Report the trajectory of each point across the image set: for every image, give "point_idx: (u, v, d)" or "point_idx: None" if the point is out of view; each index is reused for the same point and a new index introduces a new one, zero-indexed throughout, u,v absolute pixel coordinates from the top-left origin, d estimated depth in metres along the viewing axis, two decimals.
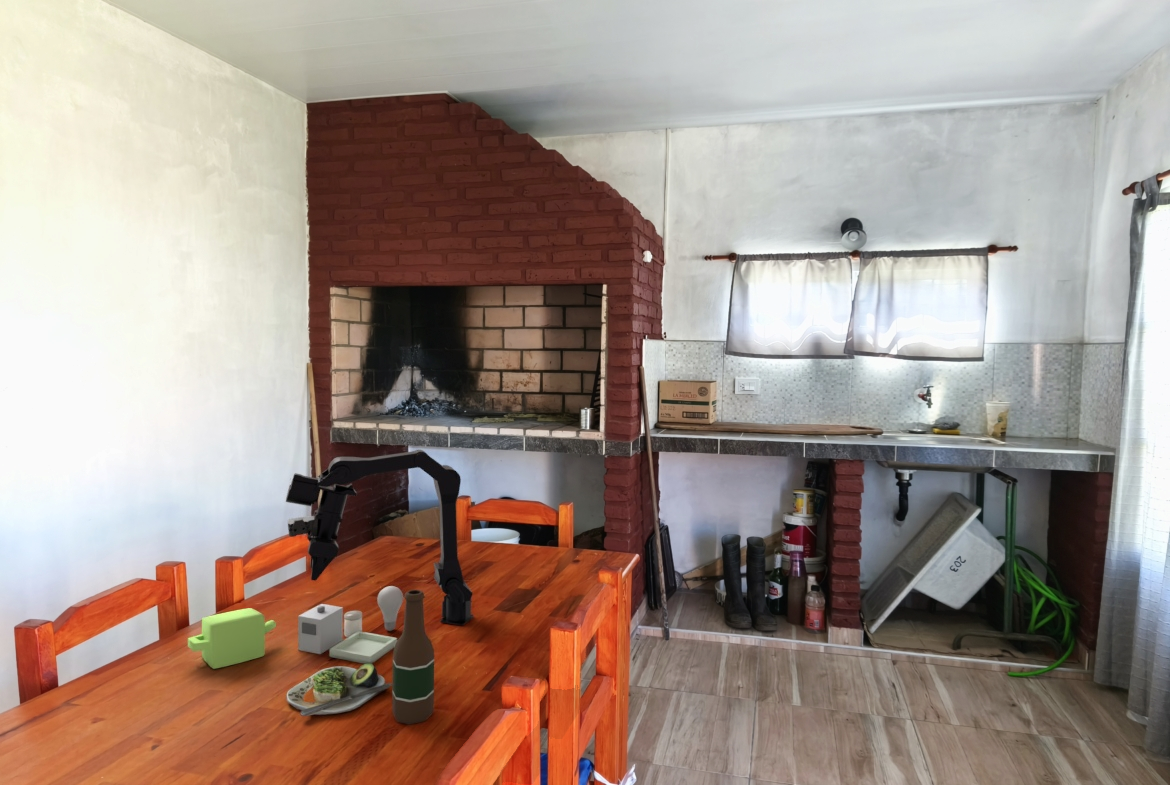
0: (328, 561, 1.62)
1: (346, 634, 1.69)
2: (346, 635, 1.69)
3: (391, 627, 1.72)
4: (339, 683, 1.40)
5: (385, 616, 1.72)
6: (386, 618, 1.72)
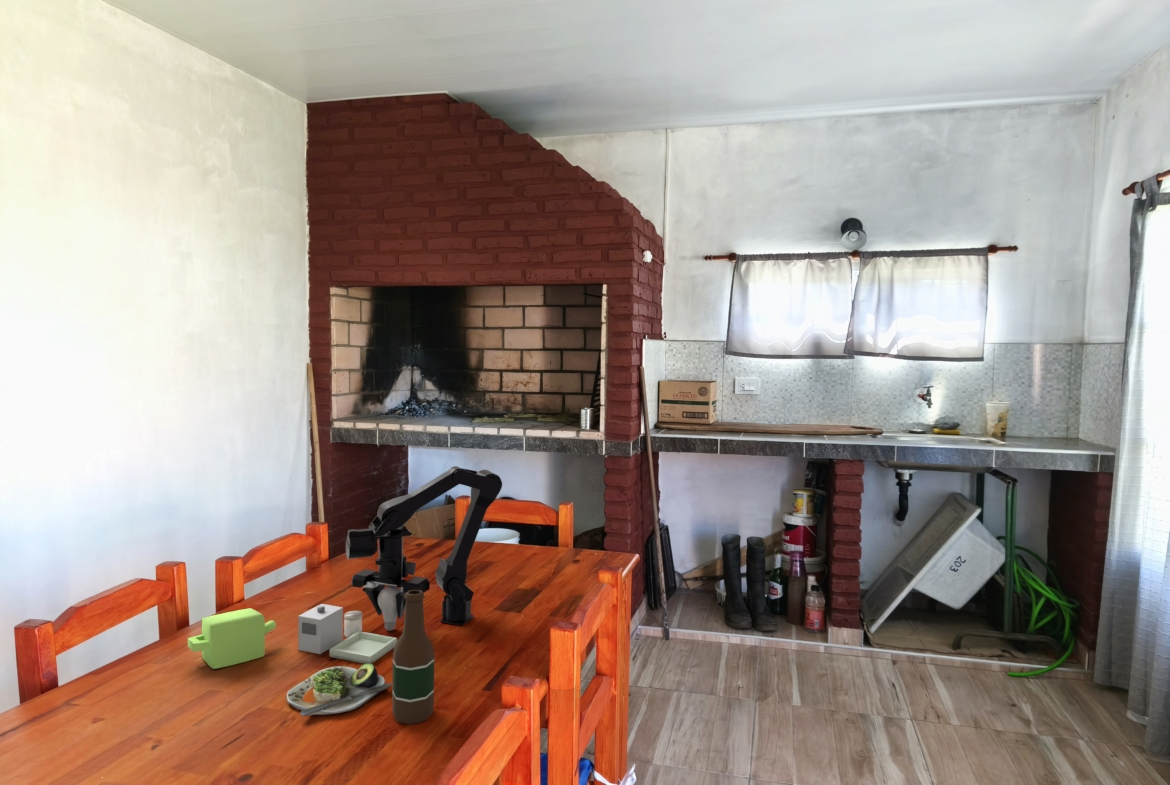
0: None
1: (346, 634, 1.69)
2: (346, 635, 1.69)
3: (391, 627, 1.72)
4: (339, 683, 1.40)
5: (385, 616, 1.72)
6: (386, 618, 1.72)
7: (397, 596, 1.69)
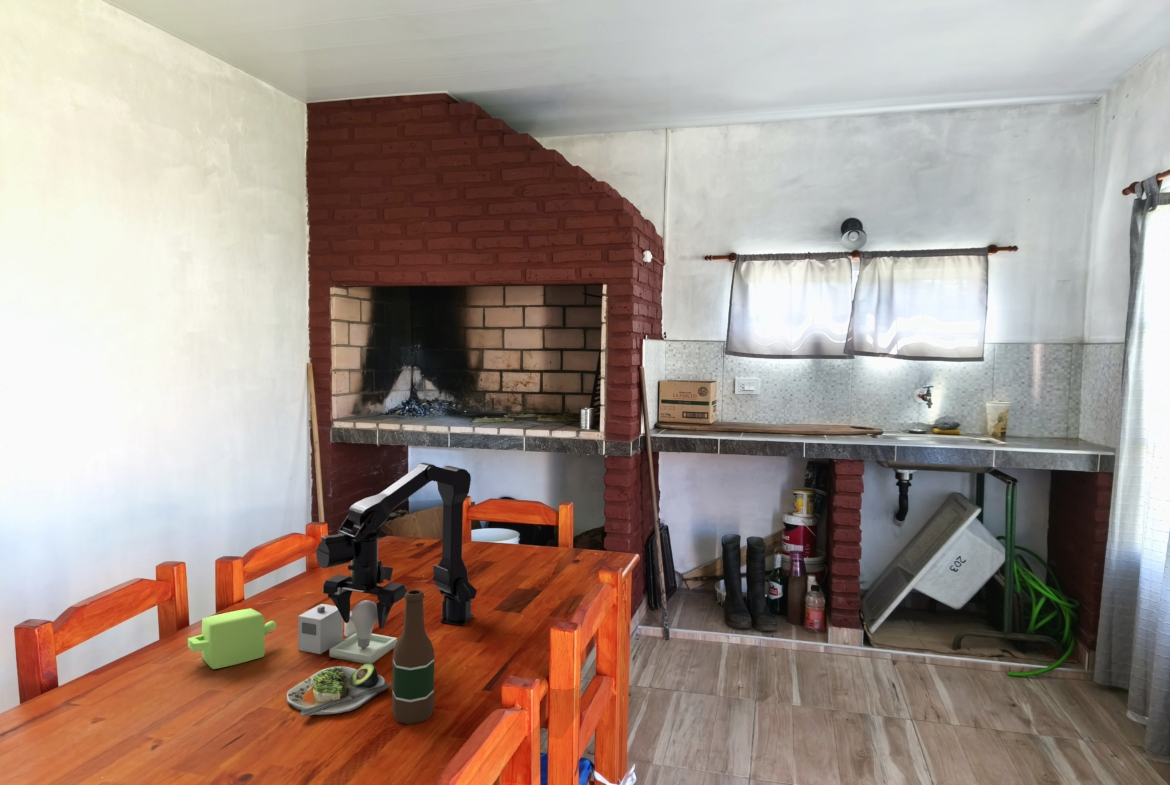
0: None
1: (346, 634, 1.69)
2: (346, 635, 1.69)
3: (364, 645, 1.61)
4: (339, 683, 1.40)
5: (359, 633, 1.60)
6: (360, 634, 1.60)
7: (378, 605, 1.56)
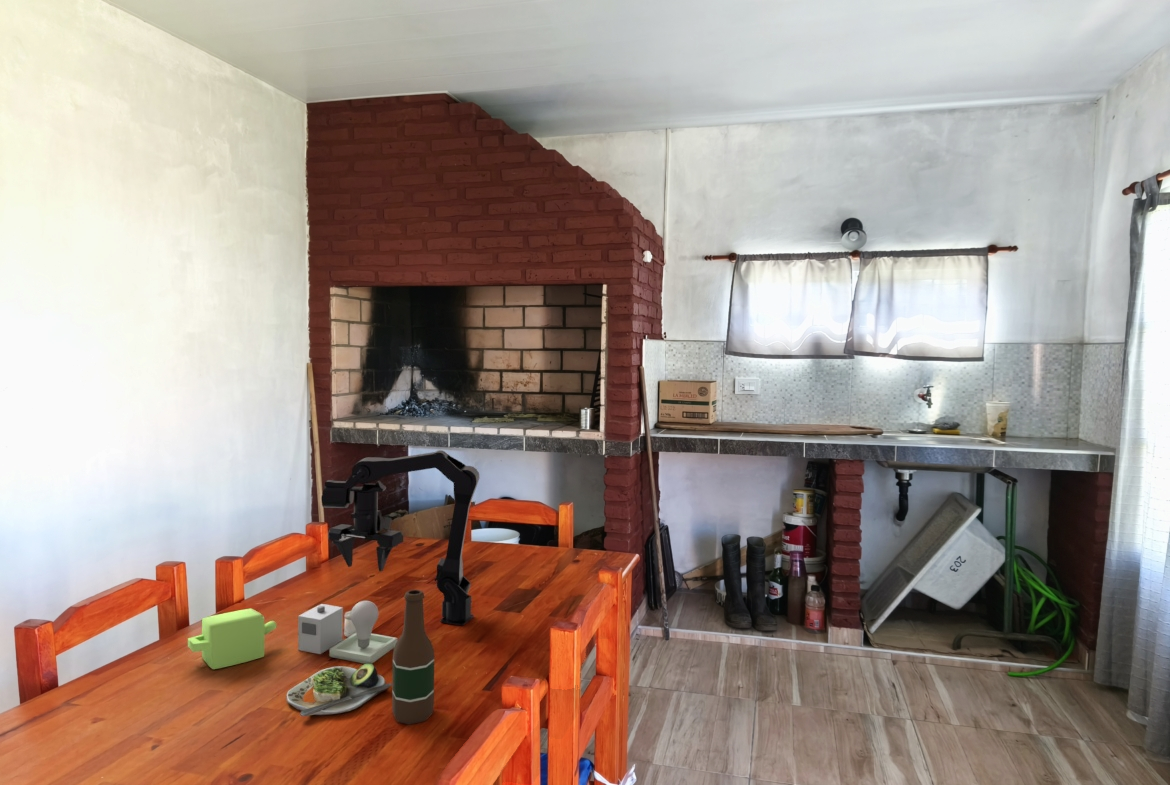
0: None
1: (347, 634, 1.69)
2: (347, 635, 1.69)
3: (364, 645, 1.61)
4: (339, 683, 1.40)
5: (358, 633, 1.60)
6: (359, 635, 1.60)
7: (378, 549, 1.75)
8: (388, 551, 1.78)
